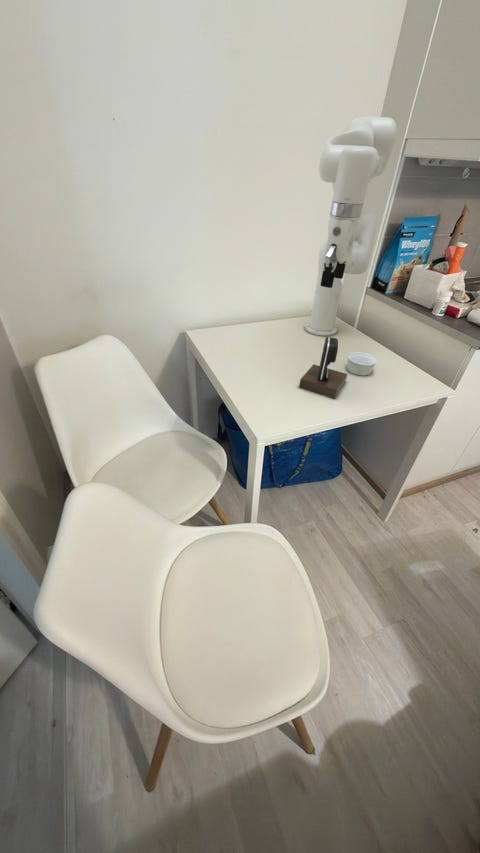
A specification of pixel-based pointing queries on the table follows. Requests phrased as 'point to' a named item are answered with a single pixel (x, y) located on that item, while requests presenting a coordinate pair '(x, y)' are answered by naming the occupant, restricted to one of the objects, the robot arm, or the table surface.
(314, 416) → the table surface
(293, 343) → the table surface
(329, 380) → the brown flat block
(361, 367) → the ramekin
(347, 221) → the robot arm
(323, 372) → the battery charger
